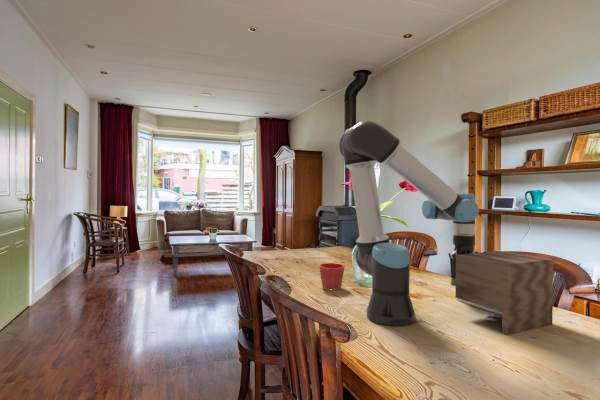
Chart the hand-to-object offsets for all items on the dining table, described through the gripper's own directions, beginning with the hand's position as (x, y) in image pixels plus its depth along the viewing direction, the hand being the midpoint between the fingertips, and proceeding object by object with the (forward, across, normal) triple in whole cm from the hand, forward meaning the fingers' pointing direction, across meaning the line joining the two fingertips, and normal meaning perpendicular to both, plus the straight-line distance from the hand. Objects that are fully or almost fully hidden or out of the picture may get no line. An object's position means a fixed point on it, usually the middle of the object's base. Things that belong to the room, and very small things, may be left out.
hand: (463, 297), depth 134 cm
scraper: (+1, 0, +10) cm, 10 cm away
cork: (+2, -18, -18) cm, 26 cm away
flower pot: (+2, +36, -36) cm, 51 cm away
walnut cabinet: (+1, +5, +20) cm, 20 cm away
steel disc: (+2, +7, +18) cm, 19 cm away
